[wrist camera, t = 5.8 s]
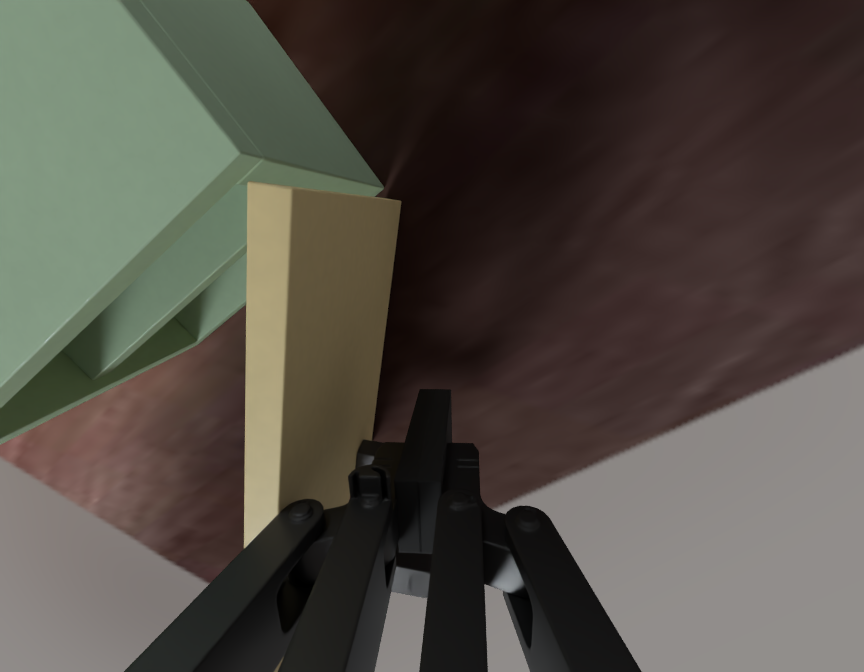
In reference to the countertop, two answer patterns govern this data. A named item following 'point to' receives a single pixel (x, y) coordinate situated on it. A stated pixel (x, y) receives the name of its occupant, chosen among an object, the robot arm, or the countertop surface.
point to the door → (315, 350)
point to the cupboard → (138, 184)
